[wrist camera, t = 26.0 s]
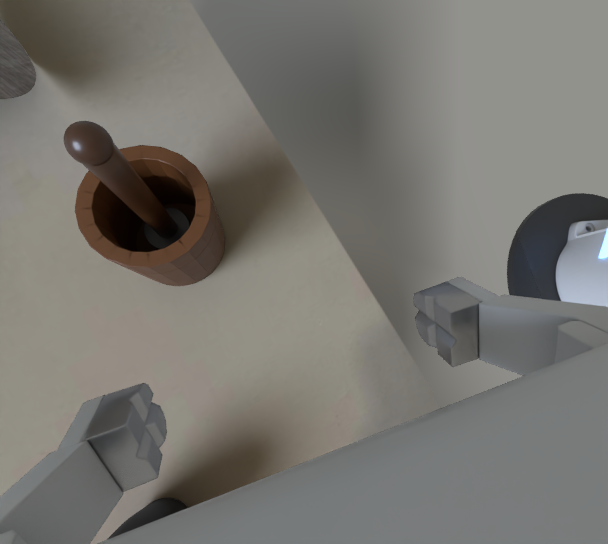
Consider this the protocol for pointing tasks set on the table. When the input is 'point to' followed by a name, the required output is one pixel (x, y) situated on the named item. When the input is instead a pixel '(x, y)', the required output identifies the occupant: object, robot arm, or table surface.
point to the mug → (150, 514)
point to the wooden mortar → (129, 226)
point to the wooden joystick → (124, 182)
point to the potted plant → (14, 66)
